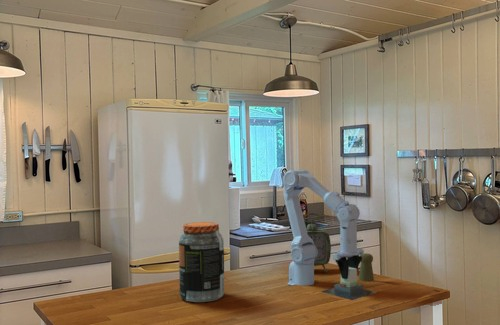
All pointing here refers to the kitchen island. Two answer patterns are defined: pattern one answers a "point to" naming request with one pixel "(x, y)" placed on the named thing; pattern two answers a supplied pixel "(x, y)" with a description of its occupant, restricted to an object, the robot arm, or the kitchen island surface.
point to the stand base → (348, 291)
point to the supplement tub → (201, 262)
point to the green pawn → (366, 268)
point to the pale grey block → (350, 278)
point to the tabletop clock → (319, 242)
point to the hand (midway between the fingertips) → (348, 277)
